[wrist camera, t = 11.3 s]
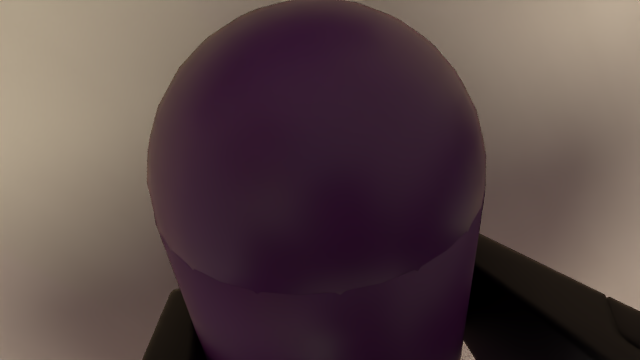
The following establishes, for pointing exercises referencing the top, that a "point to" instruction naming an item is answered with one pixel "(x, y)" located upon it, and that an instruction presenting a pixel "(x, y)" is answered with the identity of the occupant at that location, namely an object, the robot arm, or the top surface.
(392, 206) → the eggplant
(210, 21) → the top surface
